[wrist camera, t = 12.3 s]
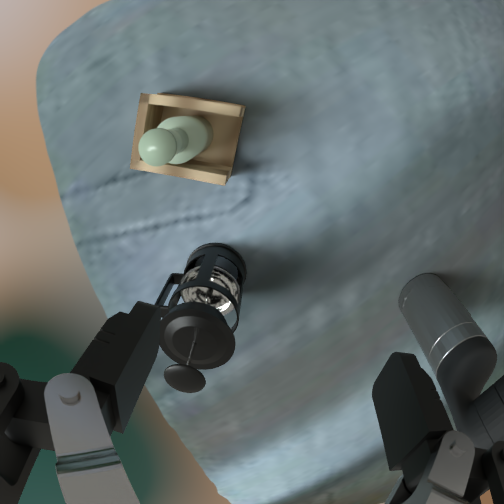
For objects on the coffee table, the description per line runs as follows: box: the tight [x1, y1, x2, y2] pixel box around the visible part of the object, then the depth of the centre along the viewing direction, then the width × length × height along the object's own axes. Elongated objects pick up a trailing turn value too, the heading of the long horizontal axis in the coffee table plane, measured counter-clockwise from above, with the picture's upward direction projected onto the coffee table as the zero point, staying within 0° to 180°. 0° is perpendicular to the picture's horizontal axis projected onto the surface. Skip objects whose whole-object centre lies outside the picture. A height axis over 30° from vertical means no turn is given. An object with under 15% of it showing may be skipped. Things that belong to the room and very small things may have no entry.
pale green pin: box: [138, 115, 213, 166], centre depth 33 cm, size 5×5×16 cm
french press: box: [155, 243, 247, 393], centre depth 39 cm, size 12×9×23 cm
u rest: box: [130, 93, 246, 186], centre depth 37 cm, size 12×10×7 cm
